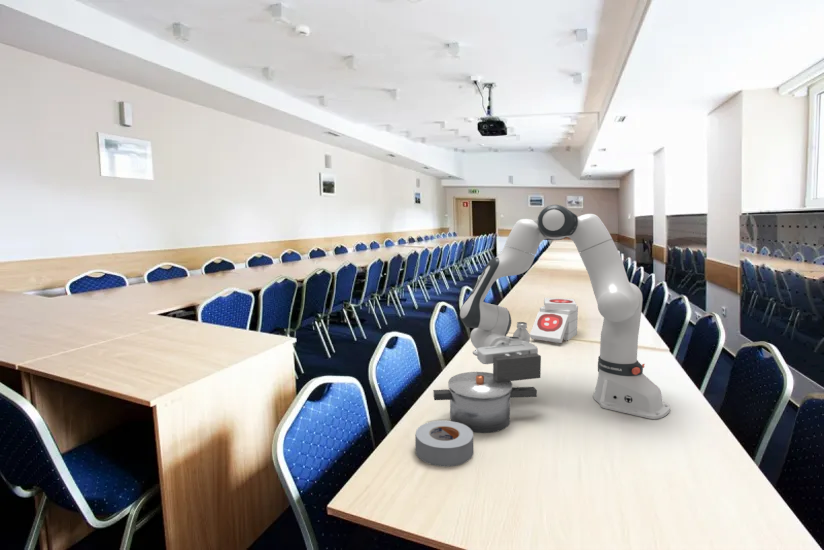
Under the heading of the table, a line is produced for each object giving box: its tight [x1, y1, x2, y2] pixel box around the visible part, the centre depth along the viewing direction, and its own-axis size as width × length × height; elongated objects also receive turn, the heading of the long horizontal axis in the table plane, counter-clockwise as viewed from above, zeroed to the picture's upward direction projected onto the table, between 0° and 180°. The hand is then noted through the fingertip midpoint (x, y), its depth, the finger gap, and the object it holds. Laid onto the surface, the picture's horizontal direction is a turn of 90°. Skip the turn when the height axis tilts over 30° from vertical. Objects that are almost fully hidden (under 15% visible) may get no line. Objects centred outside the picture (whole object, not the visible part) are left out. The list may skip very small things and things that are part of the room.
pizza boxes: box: [529, 297, 579, 344], centre depth 219 cm, size 19×30×18 cm, turn 144°
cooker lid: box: [448, 353, 542, 400], centre depth 132 cm, size 29×19×8 cm, turn 104°
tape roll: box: [414, 419, 474, 467], centre depth 115 cm, size 15×15×5 cm
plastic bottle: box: [512, 321, 531, 343], centre depth 170 cm, size 6×7×20 cm
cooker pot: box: [432, 386, 538, 434], centre depth 132 cm, size 31×18×10 cm, turn 92°
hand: (519, 360), depth 136 cm, fingers closed
